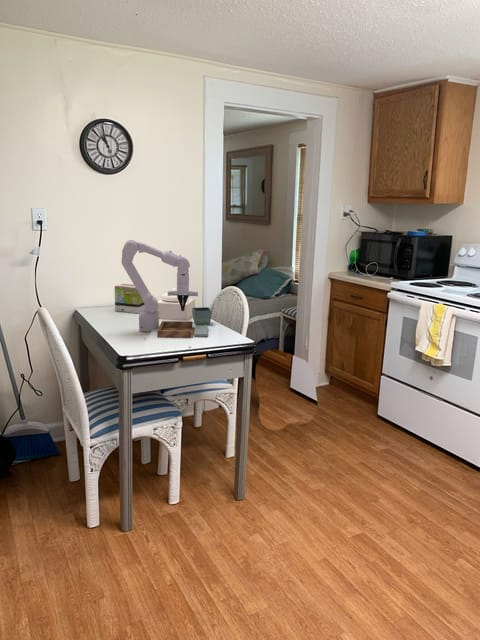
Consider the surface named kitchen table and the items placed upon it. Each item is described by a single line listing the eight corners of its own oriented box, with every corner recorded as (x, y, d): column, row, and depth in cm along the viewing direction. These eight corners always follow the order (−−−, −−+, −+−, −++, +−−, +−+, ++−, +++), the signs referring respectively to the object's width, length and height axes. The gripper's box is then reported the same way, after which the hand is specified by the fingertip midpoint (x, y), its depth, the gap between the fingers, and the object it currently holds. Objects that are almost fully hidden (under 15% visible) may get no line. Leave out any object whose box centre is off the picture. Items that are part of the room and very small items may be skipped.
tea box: (114, 311, 285) (113, 285, 282) (123, 308, 294) (122, 283, 291) (138, 313, 281) (138, 287, 278) (146, 310, 290) (146, 285, 287)
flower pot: (194, 328, 249) (194, 310, 247) (191, 324, 258) (191, 307, 256) (211, 328, 252) (212, 310, 250) (208, 324, 260) (208, 307, 258)
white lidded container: (194, 314, 285) (195, 286, 281) (187, 320, 267) (187, 291, 264) (164, 312, 287) (164, 284, 283) (155, 319, 269) (154, 289, 266)
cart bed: (157, 340, 225) (157, 330, 224) (161, 330, 245) (161, 320, 244) (193, 341, 226) (193, 331, 225) (194, 330, 246) (195, 321, 245)
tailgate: (194, 334, 227) (207, 333, 227) (195, 325, 244) (207, 325, 244) (194, 338, 228) (207, 338, 228) (195, 329, 244) (208, 329, 244)
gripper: (167, 283, 238) (167, 311, 241) (197, 284, 239) (197, 312, 242) (168, 281, 245) (168, 309, 248) (198, 282, 246) (198, 309, 249)
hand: (182, 310), depth 245 cm, fingers closed
